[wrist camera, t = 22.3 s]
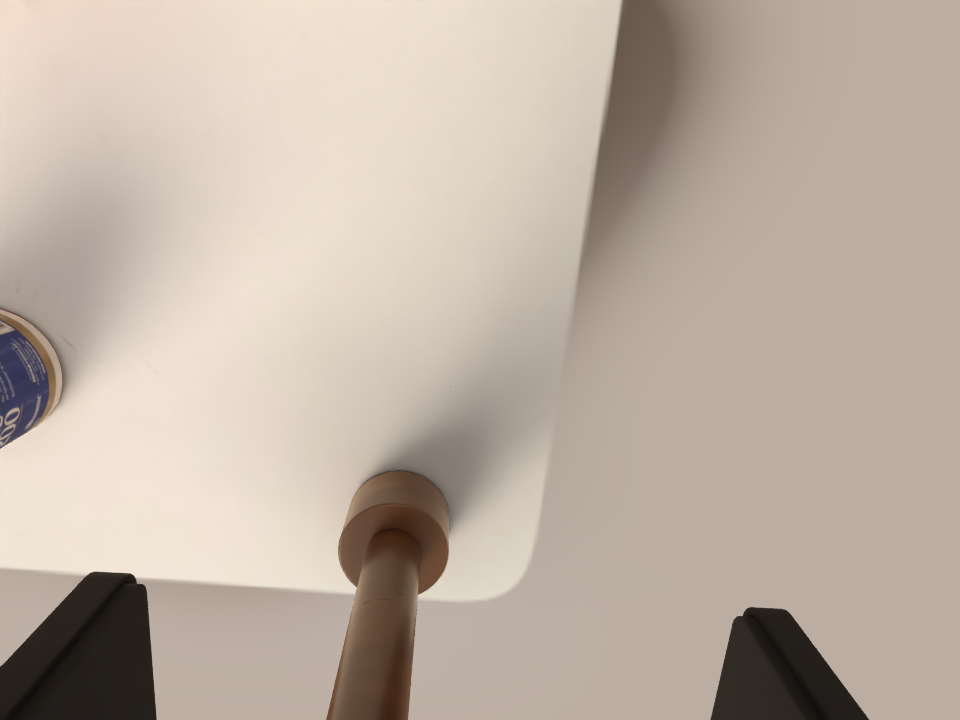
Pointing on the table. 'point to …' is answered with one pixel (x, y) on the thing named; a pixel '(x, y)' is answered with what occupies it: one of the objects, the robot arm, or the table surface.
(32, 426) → the pill bottle
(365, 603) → the wooden pestle
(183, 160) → the table surface
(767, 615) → the robot arm
